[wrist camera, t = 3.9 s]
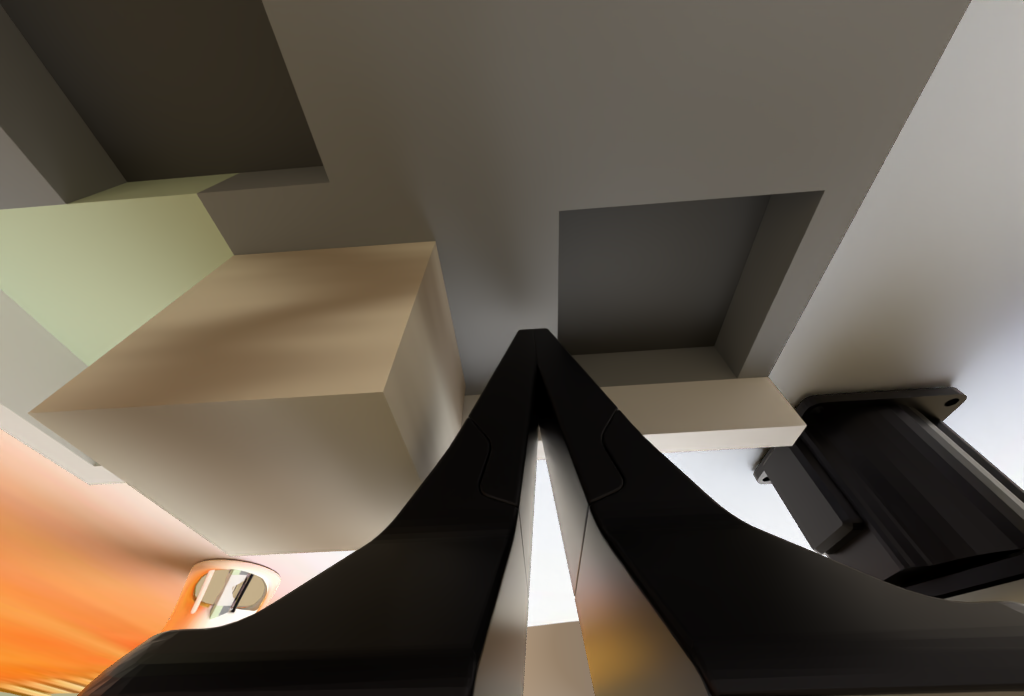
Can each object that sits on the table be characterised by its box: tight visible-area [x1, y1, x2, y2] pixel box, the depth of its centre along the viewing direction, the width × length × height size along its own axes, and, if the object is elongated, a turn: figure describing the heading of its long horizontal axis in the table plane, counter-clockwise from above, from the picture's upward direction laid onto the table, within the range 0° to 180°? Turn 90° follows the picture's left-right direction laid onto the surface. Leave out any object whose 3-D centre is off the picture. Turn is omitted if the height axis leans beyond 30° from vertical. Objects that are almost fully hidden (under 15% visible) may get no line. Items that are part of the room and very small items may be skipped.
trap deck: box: [0, 0, 971, 485], centre depth 8 cm, size 22×16×4 cm
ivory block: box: [27, 241, 466, 556], centre depth 8 cm, size 5×5×5 cm
